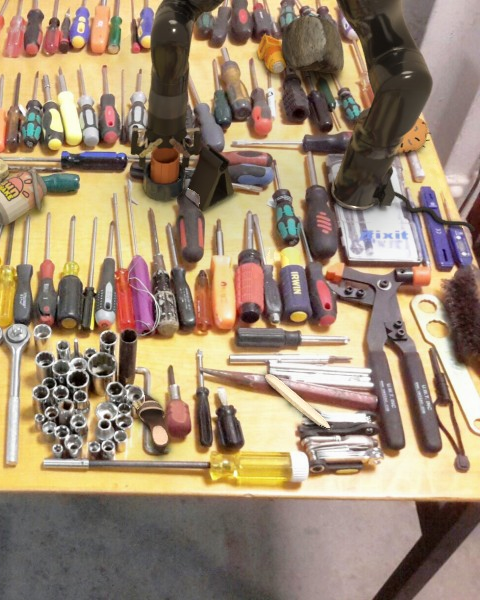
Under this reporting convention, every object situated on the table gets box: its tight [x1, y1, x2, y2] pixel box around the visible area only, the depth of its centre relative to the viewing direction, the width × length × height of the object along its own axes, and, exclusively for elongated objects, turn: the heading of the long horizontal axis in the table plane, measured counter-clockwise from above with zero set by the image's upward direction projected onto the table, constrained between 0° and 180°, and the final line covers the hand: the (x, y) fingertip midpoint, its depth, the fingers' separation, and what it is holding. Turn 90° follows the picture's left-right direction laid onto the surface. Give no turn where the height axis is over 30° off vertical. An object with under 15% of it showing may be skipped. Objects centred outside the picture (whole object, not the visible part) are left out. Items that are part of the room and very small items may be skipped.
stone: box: [281, 14, 345, 74], centre depth 155 cm, size 12×15×15 cm
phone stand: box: [186, 143, 235, 212], centre depth 133 cm, size 9×6×12 cm, turn 123°
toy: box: [397, 117, 432, 154], centre depth 141 cm, size 12×10×5 cm
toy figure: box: [256, 34, 288, 74], centre depth 160 cm, size 5×6×12 cm
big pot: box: [142, 159, 187, 202], centre depth 138 cm, size 9×9×5 cm
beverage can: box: [0, 167, 48, 226], centre depth 136 cm, size 9×8×12 cm
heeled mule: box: [136, 393, 170, 453], centre depth 106 cm, size 4×11×4 cm, turn 13°
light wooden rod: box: [264, 373, 331, 429], centre depth 108 cm, size 2×14×2 cm, turn 39°
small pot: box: [150, 147, 181, 184], centre depth 136 cm, size 6×6×9 cm
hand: (163, 167), depth 135 cm, fingers open, 8 cm apart
